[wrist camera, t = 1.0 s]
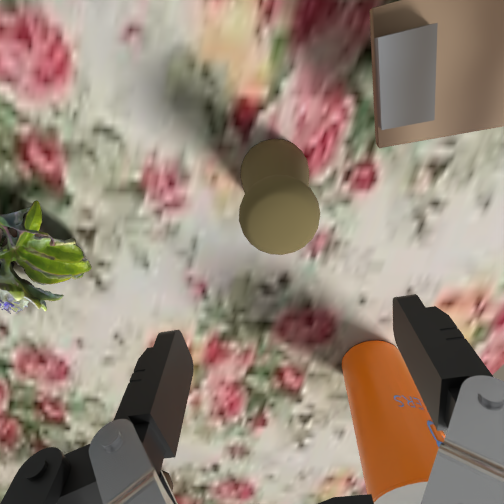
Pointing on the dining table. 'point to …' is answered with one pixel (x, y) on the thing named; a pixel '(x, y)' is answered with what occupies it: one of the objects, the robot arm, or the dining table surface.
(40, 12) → the dining table surface
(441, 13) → the seesaw board
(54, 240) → the passion flower
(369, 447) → the shaker bottle
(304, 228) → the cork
